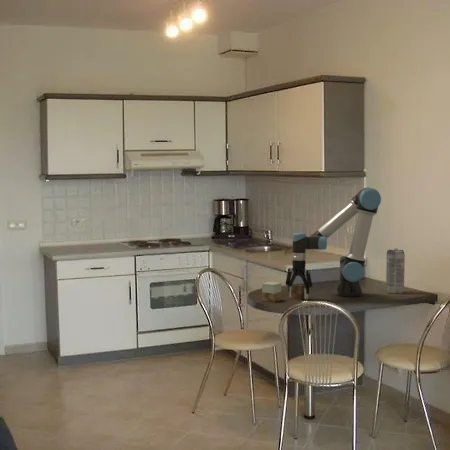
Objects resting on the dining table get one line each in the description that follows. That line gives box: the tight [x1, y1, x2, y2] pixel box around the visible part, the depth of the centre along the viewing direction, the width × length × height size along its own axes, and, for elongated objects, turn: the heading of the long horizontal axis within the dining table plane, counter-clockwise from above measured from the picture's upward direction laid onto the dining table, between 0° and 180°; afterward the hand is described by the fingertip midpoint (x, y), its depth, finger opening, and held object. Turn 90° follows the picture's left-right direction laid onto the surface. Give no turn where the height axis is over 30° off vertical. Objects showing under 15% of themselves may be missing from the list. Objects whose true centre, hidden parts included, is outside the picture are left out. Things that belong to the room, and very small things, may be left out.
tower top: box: [261, 281, 282, 294], centre depth 407 cm, size 8×8×5 cm
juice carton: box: [385, 247, 406, 295], centre depth 429 cm, size 9×10×27 cm
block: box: [291, 283, 306, 301], centre depth 412 cm, size 6×6×8 cm
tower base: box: [261, 291, 282, 303], centre depth 408 cm, size 8×8×5 cm
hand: (298, 298), depth 412 cm, fingers open, 9 cm apart
